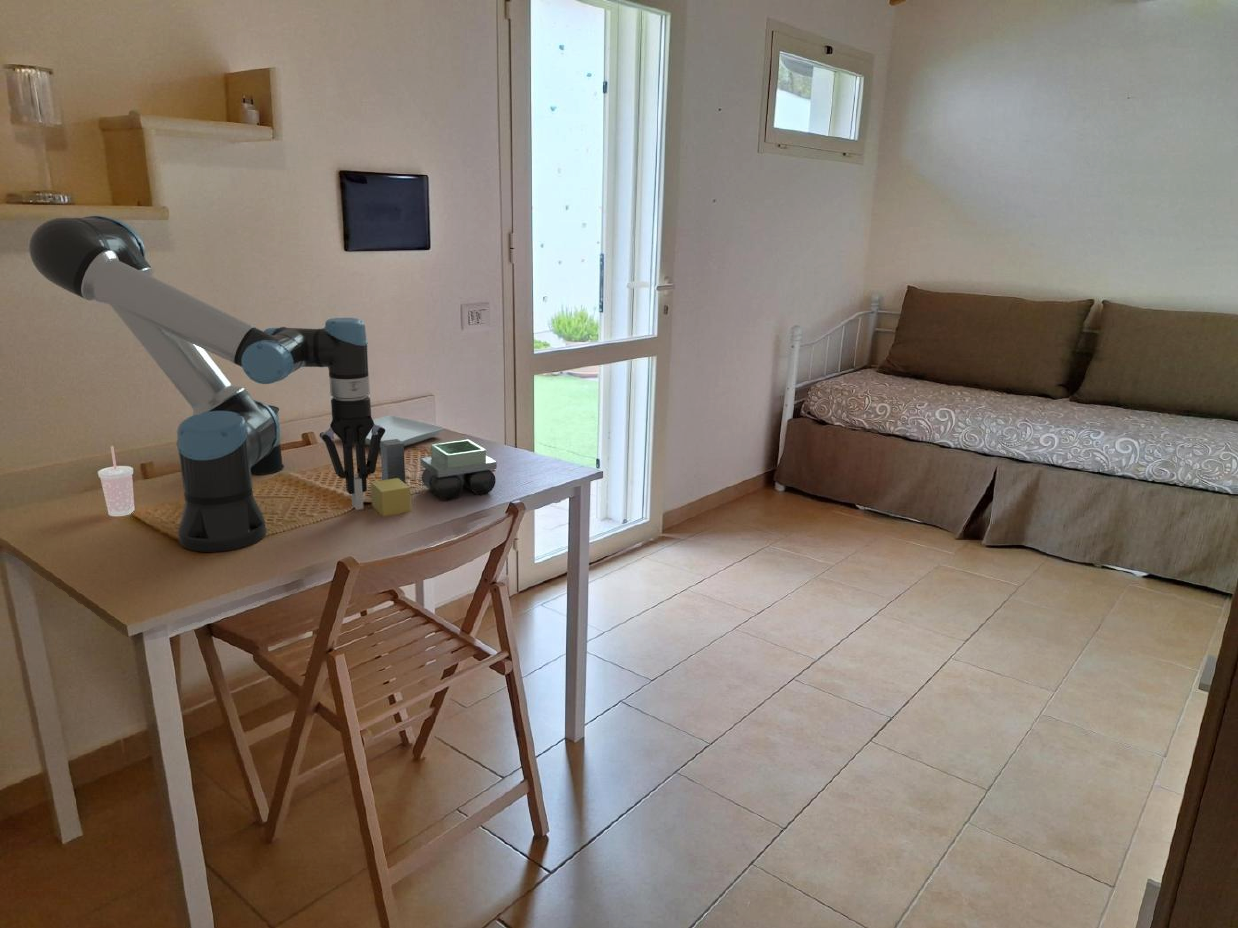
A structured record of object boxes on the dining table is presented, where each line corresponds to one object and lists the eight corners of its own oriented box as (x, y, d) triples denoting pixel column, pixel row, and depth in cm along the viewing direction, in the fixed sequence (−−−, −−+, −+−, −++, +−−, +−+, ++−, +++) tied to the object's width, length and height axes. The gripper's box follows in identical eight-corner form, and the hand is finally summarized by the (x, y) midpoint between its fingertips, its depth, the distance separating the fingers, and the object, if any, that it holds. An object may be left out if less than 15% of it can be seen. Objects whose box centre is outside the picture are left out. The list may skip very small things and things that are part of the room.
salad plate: (390, 456, 213) (390, 443, 212) (333, 441, 223) (332, 429, 222) (446, 438, 230) (446, 426, 229) (391, 426, 240) (390, 414, 239)
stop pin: (388, 492, 186) (386, 445, 183) (382, 487, 189) (380, 441, 186) (405, 489, 188) (403, 443, 185) (399, 484, 191) (397, 438, 188)
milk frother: (292, 468, 199) (287, 408, 195) (236, 485, 186) (229, 421, 182) (252, 457, 206) (247, 399, 201) (195, 473, 192) (187, 412, 188)
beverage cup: (101, 510, 168) (91, 444, 164) (135, 504, 172) (126, 440, 168) (107, 519, 164) (96, 452, 160) (142, 513, 168) (132, 447, 163)
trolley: (438, 503, 181) (437, 457, 177) (421, 489, 188) (420, 445, 185) (496, 493, 188) (496, 449, 185) (477, 480, 196) (477, 438, 193)
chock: (383, 516, 172) (381, 491, 171) (371, 506, 178) (370, 482, 176) (410, 511, 176) (409, 487, 174) (398, 501, 181) (398, 477, 179)
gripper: (322, 404, 158) (331, 518, 165) (388, 397, 165) (394, 507, 173) (311, 396, 164) (320, 507, 171) (376, 389, 171) (382, 496, 178)
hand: (357, 507), depth 172 cm, fingers closed
